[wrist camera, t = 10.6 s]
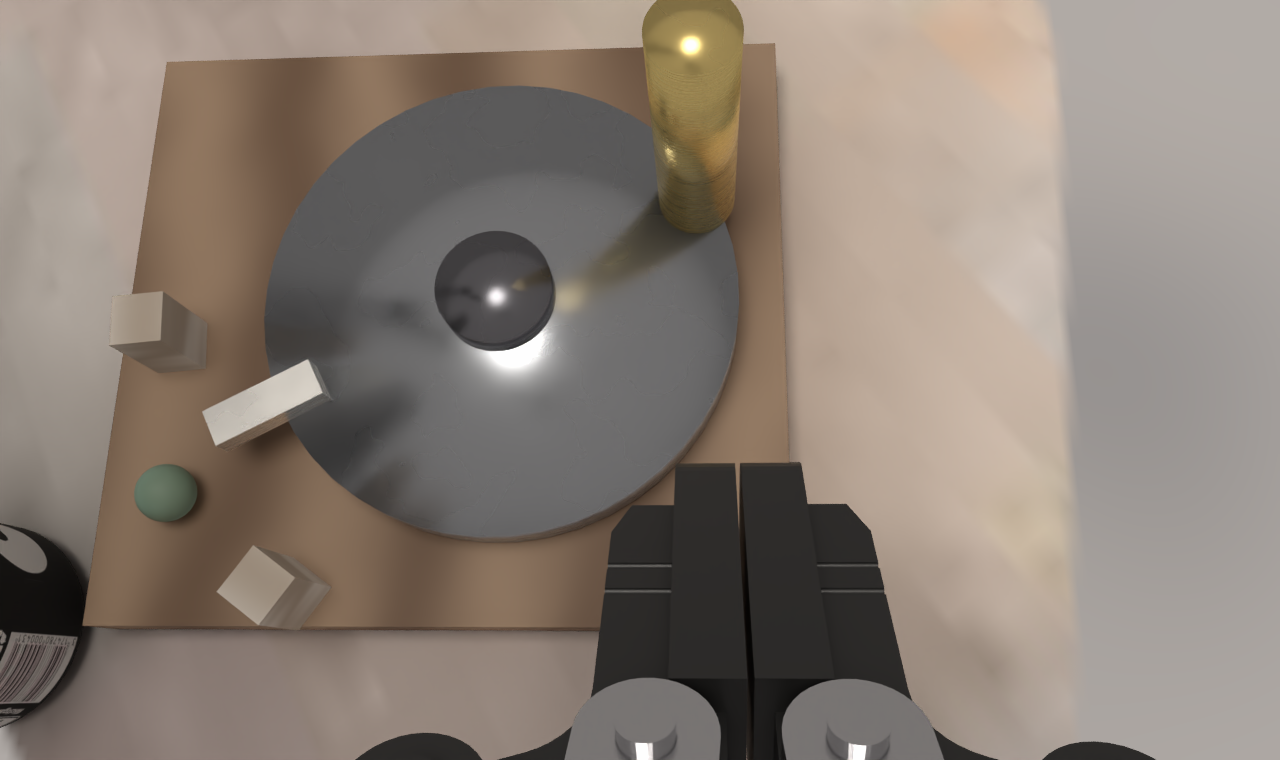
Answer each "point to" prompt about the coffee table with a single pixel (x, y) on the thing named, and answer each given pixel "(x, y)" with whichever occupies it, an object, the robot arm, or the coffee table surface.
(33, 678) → the beverage can
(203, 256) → the turntable
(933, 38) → the coffee table surface
